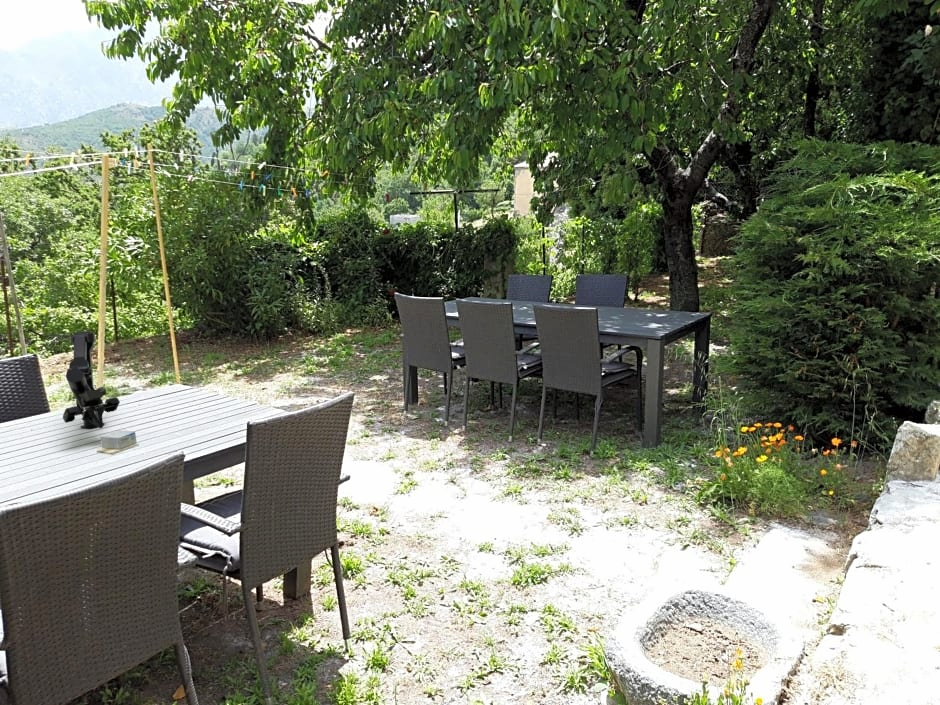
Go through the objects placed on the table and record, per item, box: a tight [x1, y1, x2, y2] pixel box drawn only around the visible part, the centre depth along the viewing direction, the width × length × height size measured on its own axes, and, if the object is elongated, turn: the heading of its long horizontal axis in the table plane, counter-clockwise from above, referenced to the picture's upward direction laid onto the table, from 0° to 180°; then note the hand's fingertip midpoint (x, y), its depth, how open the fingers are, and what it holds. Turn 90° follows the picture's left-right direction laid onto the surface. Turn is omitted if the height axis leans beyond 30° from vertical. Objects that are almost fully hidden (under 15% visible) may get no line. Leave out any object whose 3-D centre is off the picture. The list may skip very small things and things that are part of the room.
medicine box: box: [100, 429, 137, 449], centre depth 251 cm, size 8×4×9 cm
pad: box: [96, 442, 140, 456], centre depth 250 cm, size 8×11×1 cm
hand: (101, 427), depth 254 cm, fingers closed
